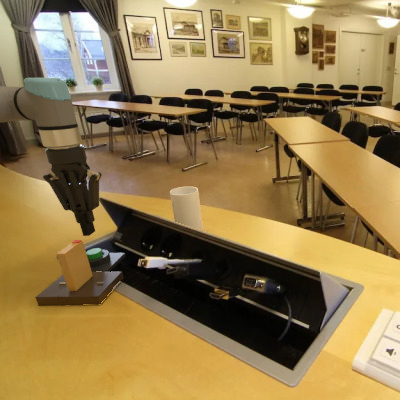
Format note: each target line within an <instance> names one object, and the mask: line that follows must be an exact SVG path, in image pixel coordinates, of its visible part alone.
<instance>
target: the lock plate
mask: <svg viewBox="0 0 400 400" xmlns="http://www.w3.org/2000/svg"><path fill="white" fill-rule="evenodd" d="M92 275H93V276H92V277H91V278H90V279H89V280H88V281H87V282H86V283H85V284H83V285H82V286H81V287H80V288H79V289H78V290H77V291H69V290H68V287H67V284H66V281H65V278H64V275H63V274H62V275H61V276H59V277H58V278H57V279H55V280H54V281H53V282H52V283H51V284H49V285H48V286H47V287H46V288H44V289H43V290H42V291H41V292H40V293H38V294H37V295H36V296H34V298H35V300H36V304H37V306H39V307H51V306H52V307H54V306H55V307H56V306H57V307H58V306H61V307H62V306H64V307H65V305H70V306H84V305H83V304H101V302H102V301H103V300H104V299H105V298H106V297H107V295H108V294H109V293H110V292H111V291H112V289H113V287H114V286H115V285H116V284H117V283H118V282H119V281H121V280H123V279H124V280H125V278H124V274H123V271H111V272H92ZM124 280H123V281H124ZM101 305H102V304H101Z"/></svg>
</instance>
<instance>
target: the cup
mask: <svg viewBox="0 0 400 400" xmlns="http://www.w3.org/2000/svg"><path fill="white" fill-rule="evenodd" d="M169 196H170V202H171V208H172V214H173V220H174V223H175V222H178V223H181V224H184V225H187V226H190V227H193V228H197V229H200V230H203V231H204V232H205V229H204V222H203V216H202V208H201V200H200V193H199V188H198V187H196V186H190V185H188V186H180V187H179V186H178V187H175V188H172V189H171V190H169Z"/></svg>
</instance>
